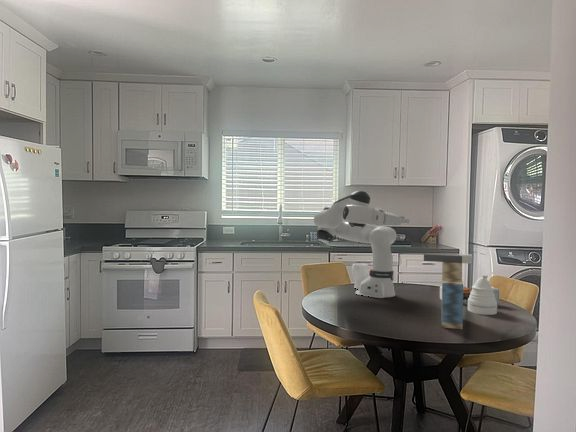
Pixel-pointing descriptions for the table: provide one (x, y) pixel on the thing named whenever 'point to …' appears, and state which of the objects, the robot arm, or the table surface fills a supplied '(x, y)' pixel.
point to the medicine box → (496, 295)
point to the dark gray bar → (449, 258)
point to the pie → (466, 292)
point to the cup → (360, 273)
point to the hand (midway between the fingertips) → (406, 219)
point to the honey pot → (482, 298)
